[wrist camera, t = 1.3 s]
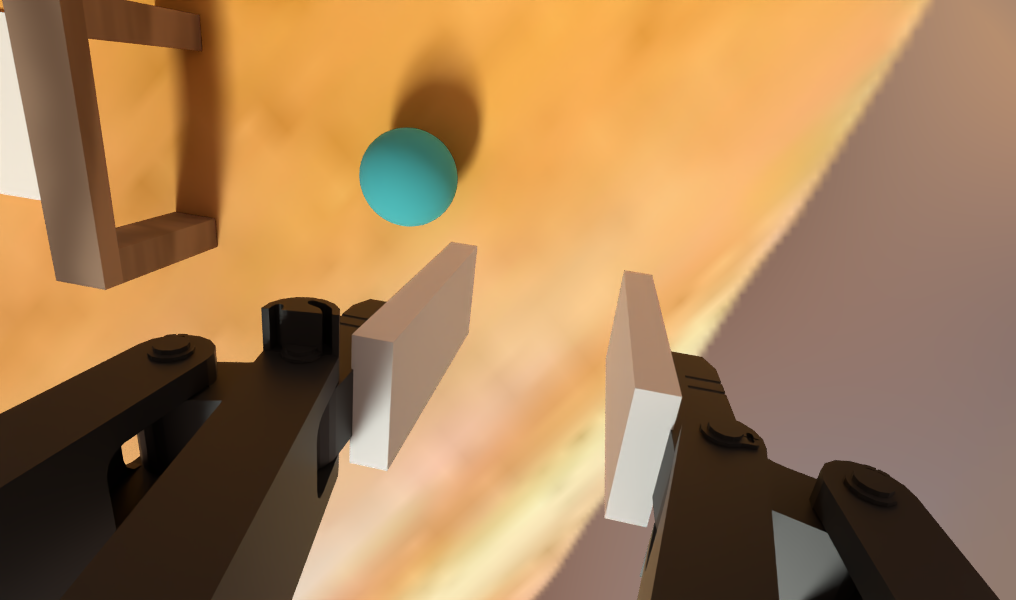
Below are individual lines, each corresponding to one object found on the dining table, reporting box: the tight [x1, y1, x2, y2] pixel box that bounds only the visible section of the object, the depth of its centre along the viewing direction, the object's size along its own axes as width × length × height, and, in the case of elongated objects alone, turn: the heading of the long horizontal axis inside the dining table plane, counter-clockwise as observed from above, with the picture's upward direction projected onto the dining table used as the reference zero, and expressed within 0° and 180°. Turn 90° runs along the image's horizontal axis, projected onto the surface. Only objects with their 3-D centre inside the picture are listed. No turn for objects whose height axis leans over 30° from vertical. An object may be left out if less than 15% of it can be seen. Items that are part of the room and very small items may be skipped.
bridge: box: [2, 0, 217, 290], centre depth 31 cm, size 3×14×9 cm, turn 173°
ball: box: [359, 128, 458, 226], centre depth 31 cm, size 6×6×6 cm
